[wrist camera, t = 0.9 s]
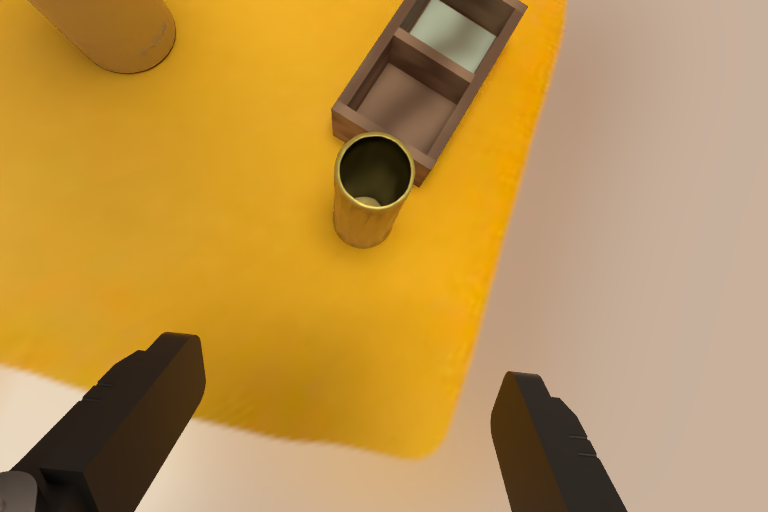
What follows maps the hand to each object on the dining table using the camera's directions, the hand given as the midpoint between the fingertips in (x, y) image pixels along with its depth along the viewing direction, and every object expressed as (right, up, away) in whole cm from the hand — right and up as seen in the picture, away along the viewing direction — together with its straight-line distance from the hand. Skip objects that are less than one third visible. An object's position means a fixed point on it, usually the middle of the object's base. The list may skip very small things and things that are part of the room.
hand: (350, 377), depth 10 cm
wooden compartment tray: (+5, +22, +30) cm, 37 cm away
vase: (-1, +7, +28) cm, 28 cm away
